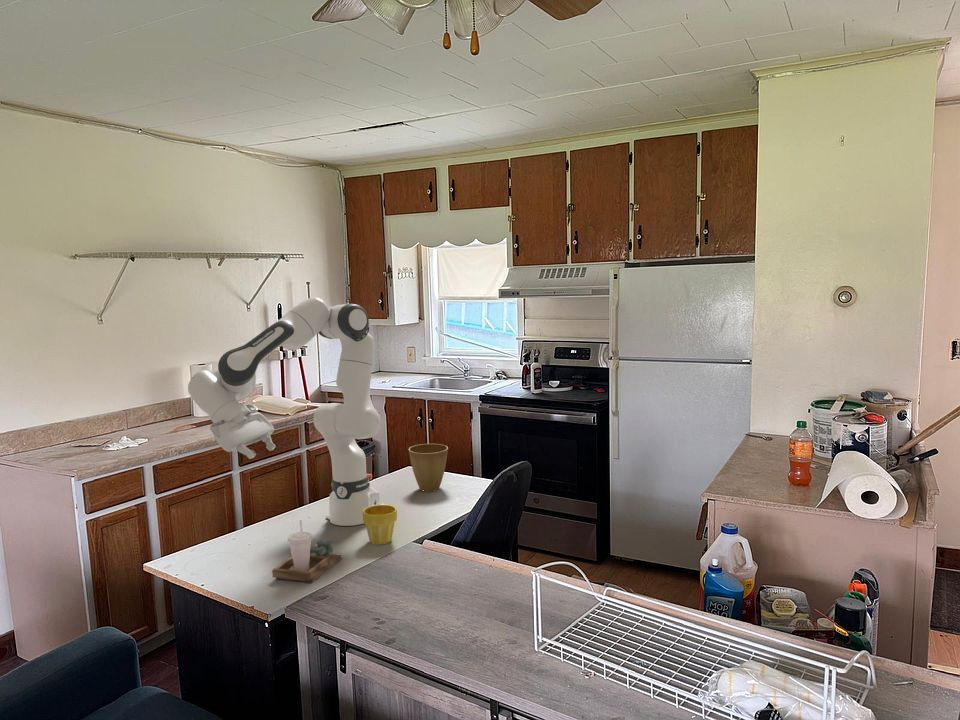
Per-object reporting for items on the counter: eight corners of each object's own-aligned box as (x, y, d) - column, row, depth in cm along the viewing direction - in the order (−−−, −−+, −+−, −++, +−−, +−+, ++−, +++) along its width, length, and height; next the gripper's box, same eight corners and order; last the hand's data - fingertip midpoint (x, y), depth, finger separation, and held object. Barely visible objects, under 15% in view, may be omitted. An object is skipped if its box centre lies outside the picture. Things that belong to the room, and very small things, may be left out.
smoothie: (308, 575, 179) (304, 524, 178) (285, 574, 180) (282, 524, 179) (317, 565, 186) (314, 516, 184) (296, 565, 187) (292, 516, 185)
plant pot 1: (405, 538, 207) (403, 507, 206) (382, 549, 198) (380, 517, 197) (380, 532, 213) (378, 502, 212) (356, 543, 204) (355, 511, 203)
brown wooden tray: (311, 552, 198) (310, 538, 197) (344, 555, 195) (343, 541, 194) (272, 580, 179) (271, 565, 179) (309, 584, 176) (308, 569, 176)
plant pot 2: (405, 494, 251) (403, 452, 250) (416, 483, 266) (414, 443, 264) (444, 495, 249) (442, 453, 247) (453, 483, 263) (451, 443, 261)
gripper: (213, 417, 181) (247, 454, 180) (258, 404, 201) (289, 437, 199) (200, 433, 183) (234, 469, 181) (246, 418, 203) (277, 451, 201)
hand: (263, 452), depth 190 cm, fingers open, 8 cm apart
